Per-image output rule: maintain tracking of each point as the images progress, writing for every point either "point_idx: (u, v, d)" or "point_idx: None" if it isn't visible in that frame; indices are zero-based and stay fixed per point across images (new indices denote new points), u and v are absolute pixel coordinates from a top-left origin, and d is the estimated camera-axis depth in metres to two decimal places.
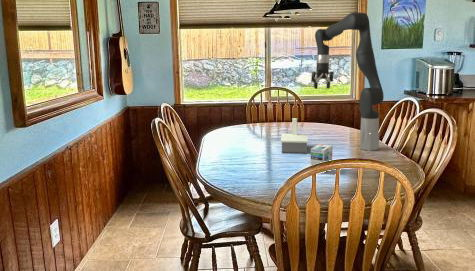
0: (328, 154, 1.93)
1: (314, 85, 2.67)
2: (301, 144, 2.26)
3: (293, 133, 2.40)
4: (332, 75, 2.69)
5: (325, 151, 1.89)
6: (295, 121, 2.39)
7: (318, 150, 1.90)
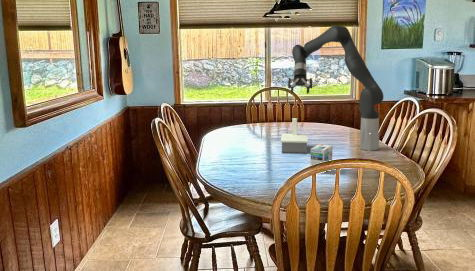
0: (328, 154, 1.93)
1: (291, 90, 2.54)
2: (301, 144, 2.26)
3: (293, 133, 2.40)
4: (311, 80, 2.55)
5: (325, 151, 1.89)
6: (295, 121, 2.39)
7: (318, 150, 1.90)
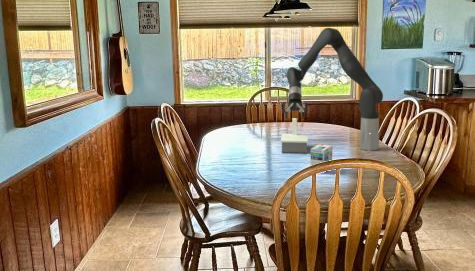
0: (328, 154, 1.93)
1: (285, 115, 2.46)
2: (301, 144, 2.26)
3: (293, 133, 2.40)
4: (306, 105, 2.47)
5: (325, 151, 1.89)
6: (295, 121, 2.39)
7: (318, 150, 1.90)
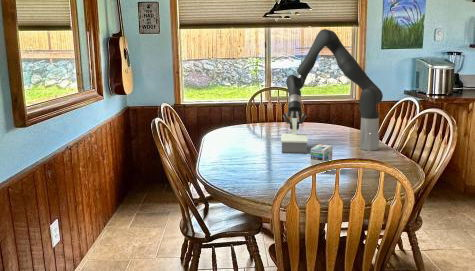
0: (328, 154, 1.93)
1: None
2: (301, 144, 2.26)
3: (293, 133, 2.40)
4: (304, 116, 2.42)
5: (325, 151, 1.89)
6: (295, 121, 2.39)
7: (318, 150, 1.90)
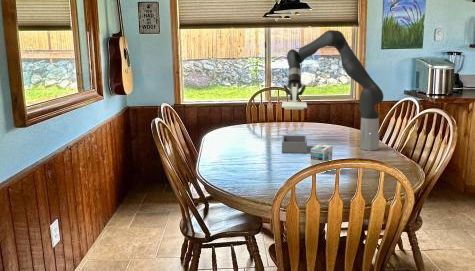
0: (328, 154, 1.93)
1: (290, 97, 2.55)
2: (301, 144, 2.26)
3: (293, 101, 2.55)
4: (303, 88, 2.56)
5: (325, 151, 1.89)
6: (295, 89, 2.53)
7: (318, 150, 1.90)
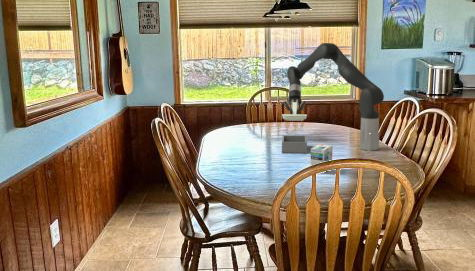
0: (328, 154, 1.93)
1: (290, 112, 2.63)
2: (301, 144, 2.26)
3: None
4: (303, 104, 2.64)
5: (325, 151, 1.89)
6: (295, 104, 2.62)
7: (318, 150, 1.90)
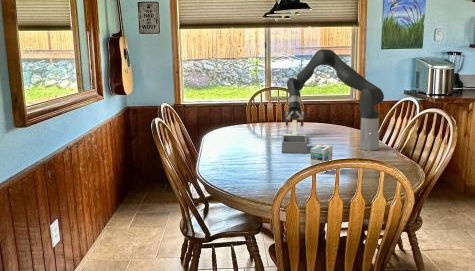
0: (328, 154, 1.93)
1: None
2: (301, 144, 2.26)
3: (293, 133, 2.64)
4: (305, 113, 2.66)
5: (325, 151, 1.89)
6: (295, 122, 2.62)
7: (318, 150, 1.90)
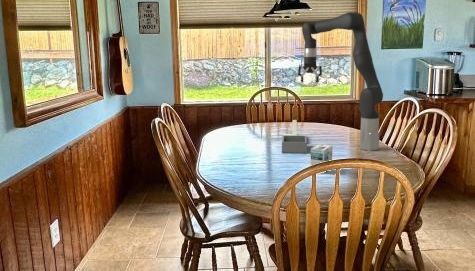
0: (328, 154, 1.93)
1: (301, 79, 2.66)
2: (301, 144, 2.26)
3: (293, 133, 2.64)
4: (320, 69, 2.62)
5: (325, 151, 1.89)
6: (295, 122, 2.62)
7: (318, 150, 1.90)
